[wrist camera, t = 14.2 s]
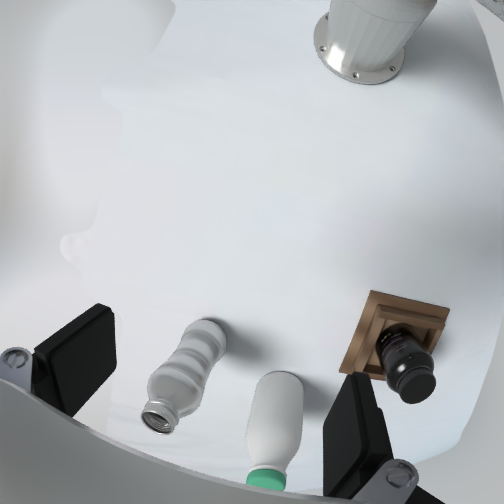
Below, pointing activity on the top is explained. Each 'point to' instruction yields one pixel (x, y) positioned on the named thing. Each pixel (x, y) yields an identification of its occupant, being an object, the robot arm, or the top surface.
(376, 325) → the walnut stand
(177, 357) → the plastic bottle
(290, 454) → the milk bottle
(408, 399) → the supplement bottle
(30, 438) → the robot arm
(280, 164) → the top surface
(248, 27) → the top surface
